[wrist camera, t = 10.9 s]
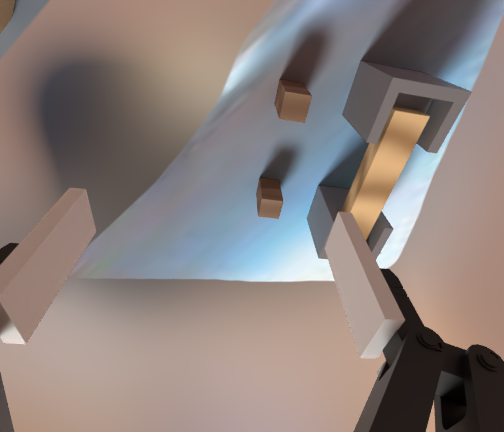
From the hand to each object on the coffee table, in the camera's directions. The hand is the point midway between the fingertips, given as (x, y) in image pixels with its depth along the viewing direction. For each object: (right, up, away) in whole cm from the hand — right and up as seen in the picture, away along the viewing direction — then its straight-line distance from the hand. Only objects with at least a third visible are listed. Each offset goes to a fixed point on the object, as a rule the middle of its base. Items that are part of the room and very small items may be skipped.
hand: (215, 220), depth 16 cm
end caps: (+17, +9, +27) cm, 34 cm away
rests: (+5, +10, +26) cm, 29 cm away
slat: (+17, +5, +23) cm, 29 cm away
